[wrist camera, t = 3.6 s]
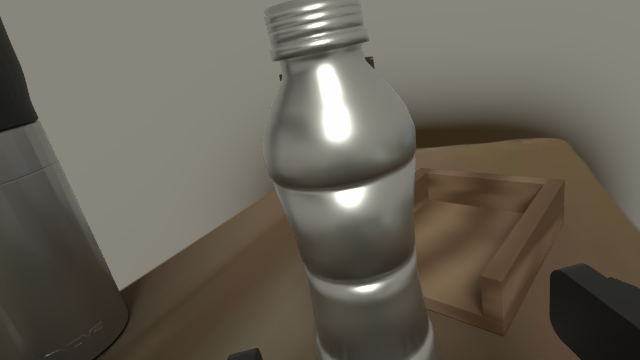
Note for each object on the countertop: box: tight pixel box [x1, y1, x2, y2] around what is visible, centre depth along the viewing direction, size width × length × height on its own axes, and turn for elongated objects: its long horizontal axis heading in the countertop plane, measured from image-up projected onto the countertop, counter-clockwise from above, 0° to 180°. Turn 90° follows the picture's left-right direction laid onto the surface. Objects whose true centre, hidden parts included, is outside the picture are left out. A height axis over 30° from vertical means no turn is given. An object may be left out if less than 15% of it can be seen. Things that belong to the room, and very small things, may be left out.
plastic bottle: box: [263, 0, 442, 360], centre depth 17 cm, size 6×7×20 cm
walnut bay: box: [413, 168, 565, 336], centre depth 31 cm, size 13×15×4 cm
